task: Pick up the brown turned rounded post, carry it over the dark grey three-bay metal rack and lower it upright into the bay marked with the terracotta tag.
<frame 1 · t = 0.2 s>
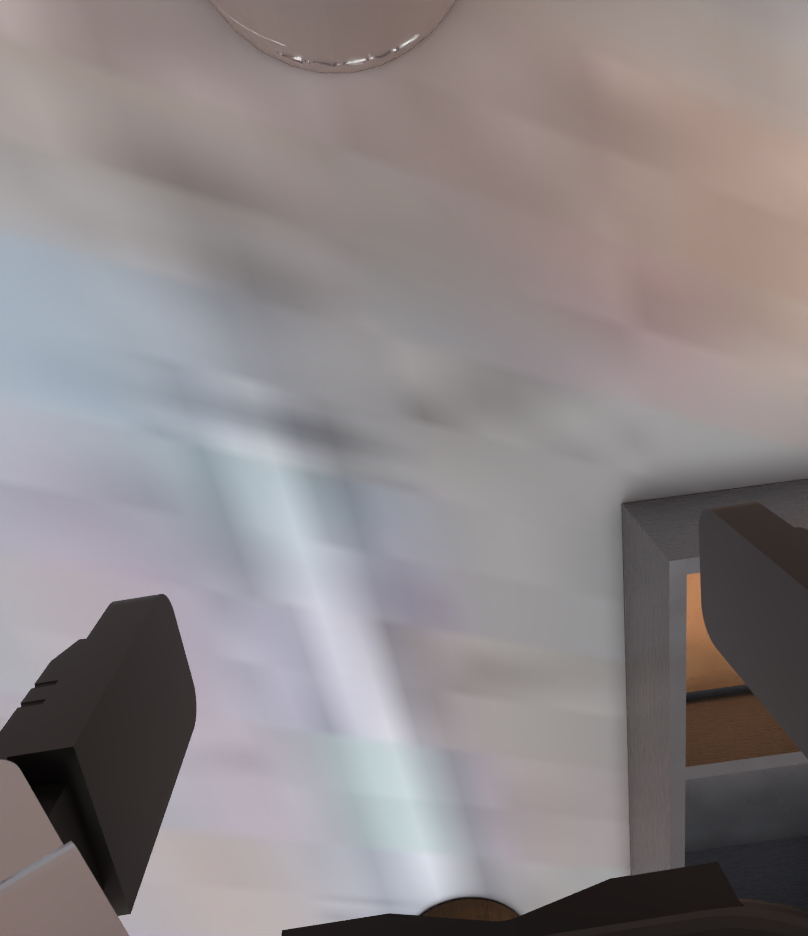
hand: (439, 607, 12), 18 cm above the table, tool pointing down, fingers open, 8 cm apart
rack: (749, 756, 35), on the table
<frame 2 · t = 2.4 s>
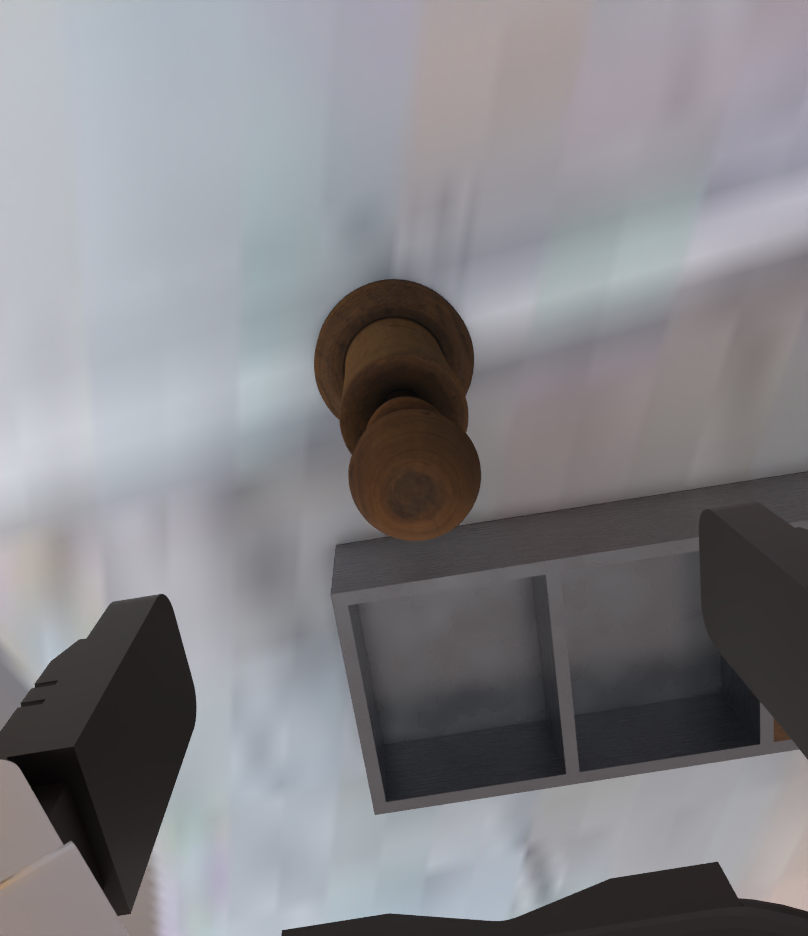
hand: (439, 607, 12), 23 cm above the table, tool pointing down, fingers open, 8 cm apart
brown turned rounded post: (392, 355, 34), on the table
rack: (627, 606, 38), on the table
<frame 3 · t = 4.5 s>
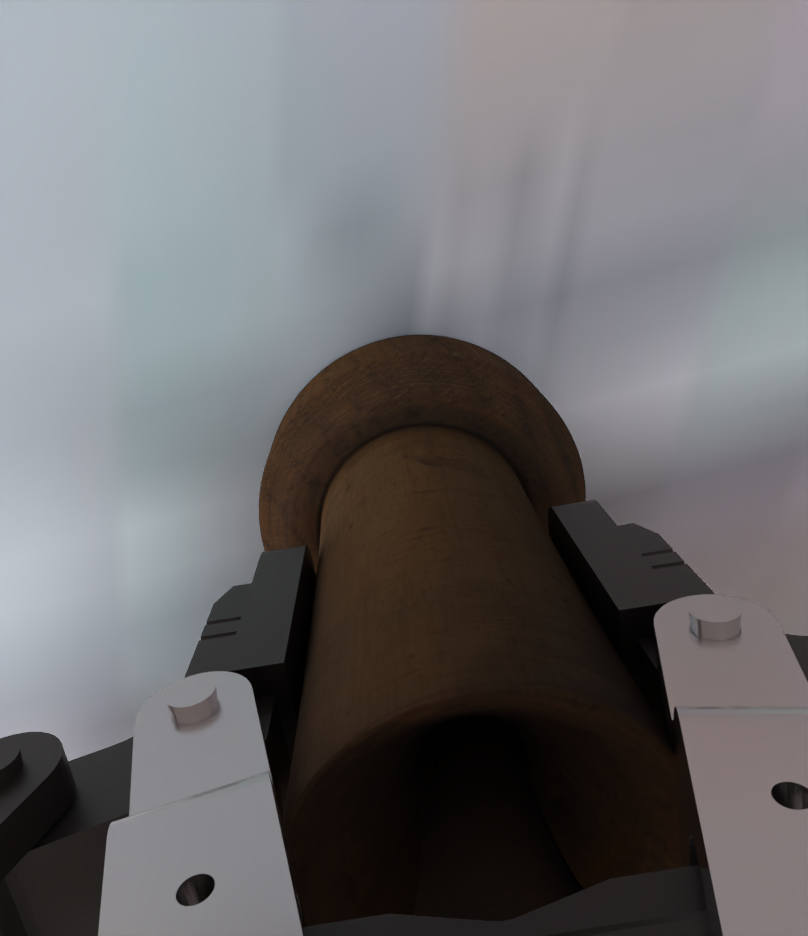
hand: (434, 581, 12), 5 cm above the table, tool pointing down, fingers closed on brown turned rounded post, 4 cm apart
brown turned rounded post: (415, 475, 18), on the table, touching gripper
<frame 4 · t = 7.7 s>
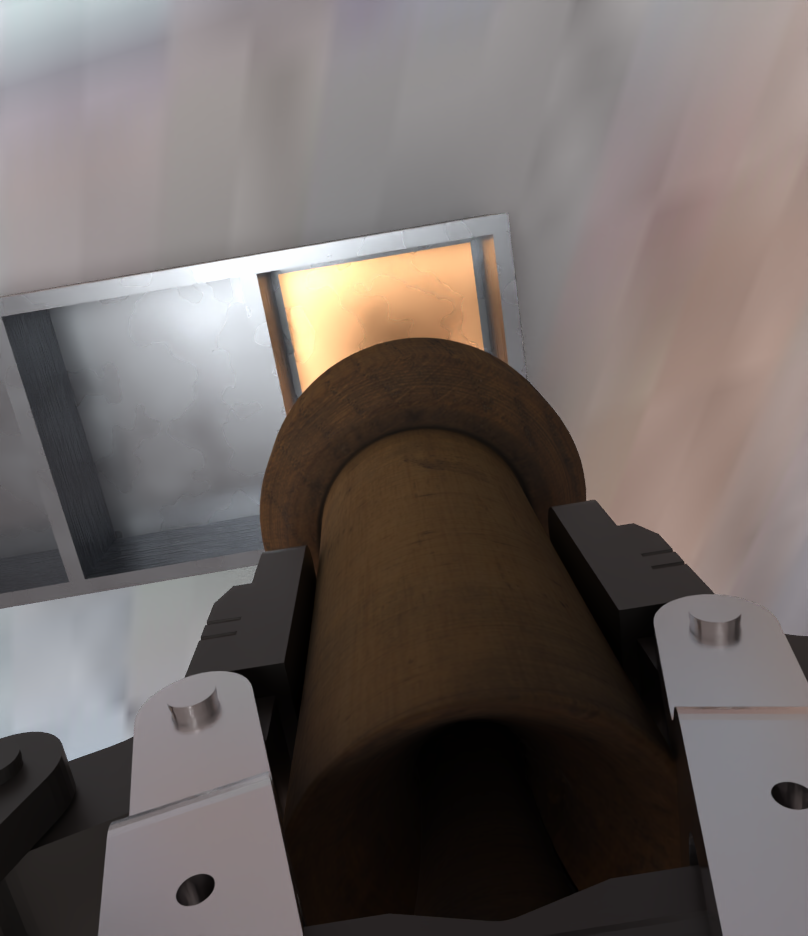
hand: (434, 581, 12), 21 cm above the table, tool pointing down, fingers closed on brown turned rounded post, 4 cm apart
brown turned rounded post: (416, 477, 18), point 16 cm above the table, touching gripper
rack: (187, 405, 32), on the table
when the fingers open (8 cm above the table, at t = 10.7 s): brown turned rounded post drops 1 cm, resting on rack.
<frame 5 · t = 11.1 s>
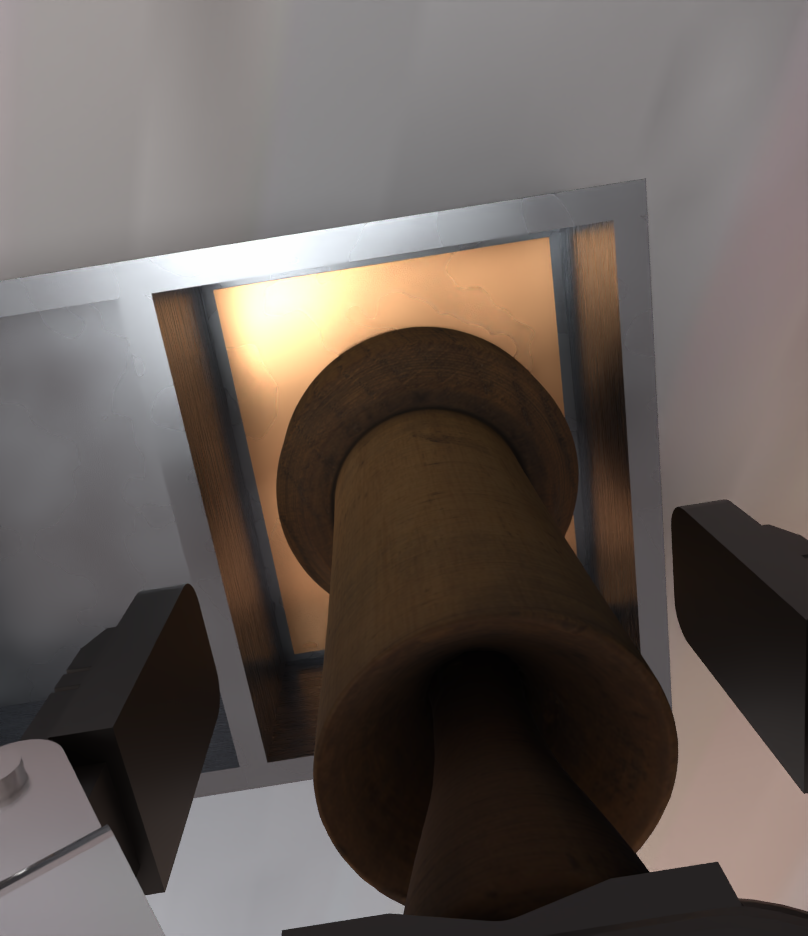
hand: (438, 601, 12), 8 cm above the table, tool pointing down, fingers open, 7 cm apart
brown turned rounded post: (420, 458, 19), point 1 cm above the table, touching rack
rack: (71, 501, 20), on the table
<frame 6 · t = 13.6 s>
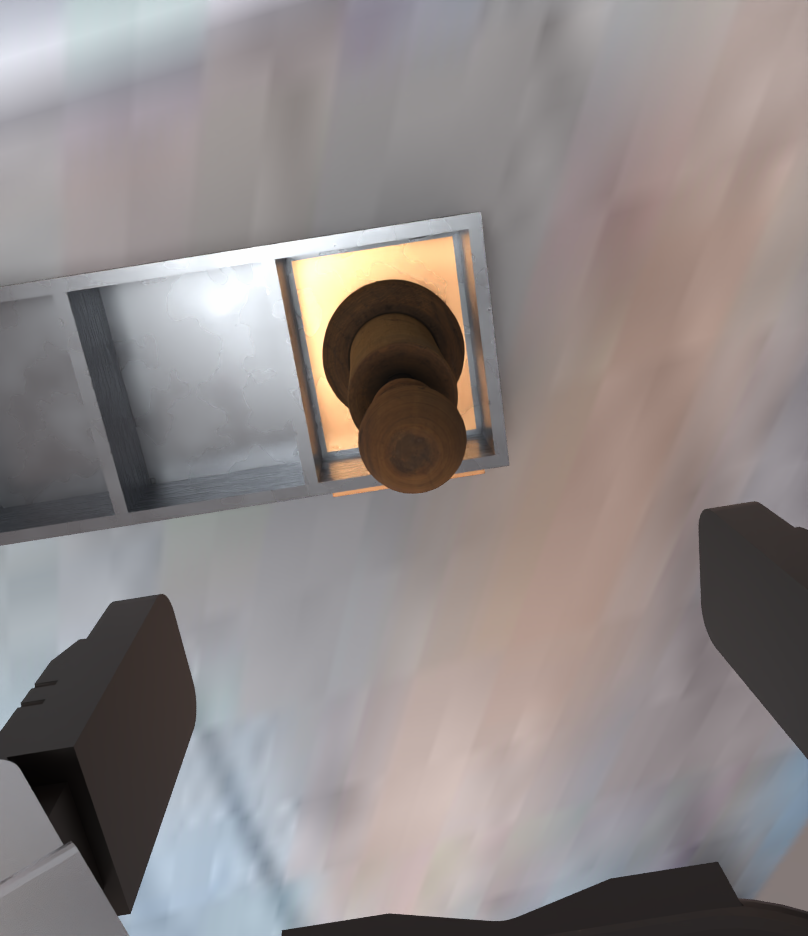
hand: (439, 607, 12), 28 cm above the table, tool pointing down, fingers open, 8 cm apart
brown turned rounded post: (391, 347, 37), point 1 cm above the table, touching rack
rack: (212, 372, 38), on the table
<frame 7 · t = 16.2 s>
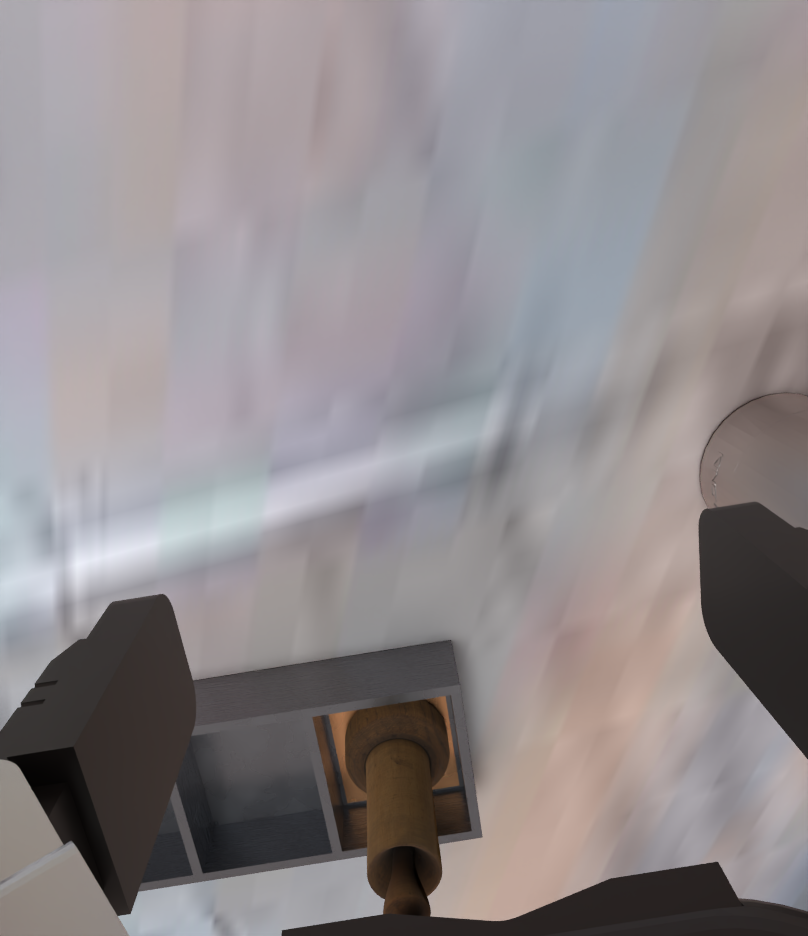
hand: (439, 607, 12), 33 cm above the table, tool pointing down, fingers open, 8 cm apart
brown turned rounded post: (395, 733, 50), point 1 cm above the table, touching rack
rack: (261, 745, 51), on the table
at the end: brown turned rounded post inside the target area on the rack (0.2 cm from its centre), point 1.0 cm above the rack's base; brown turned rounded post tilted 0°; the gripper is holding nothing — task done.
